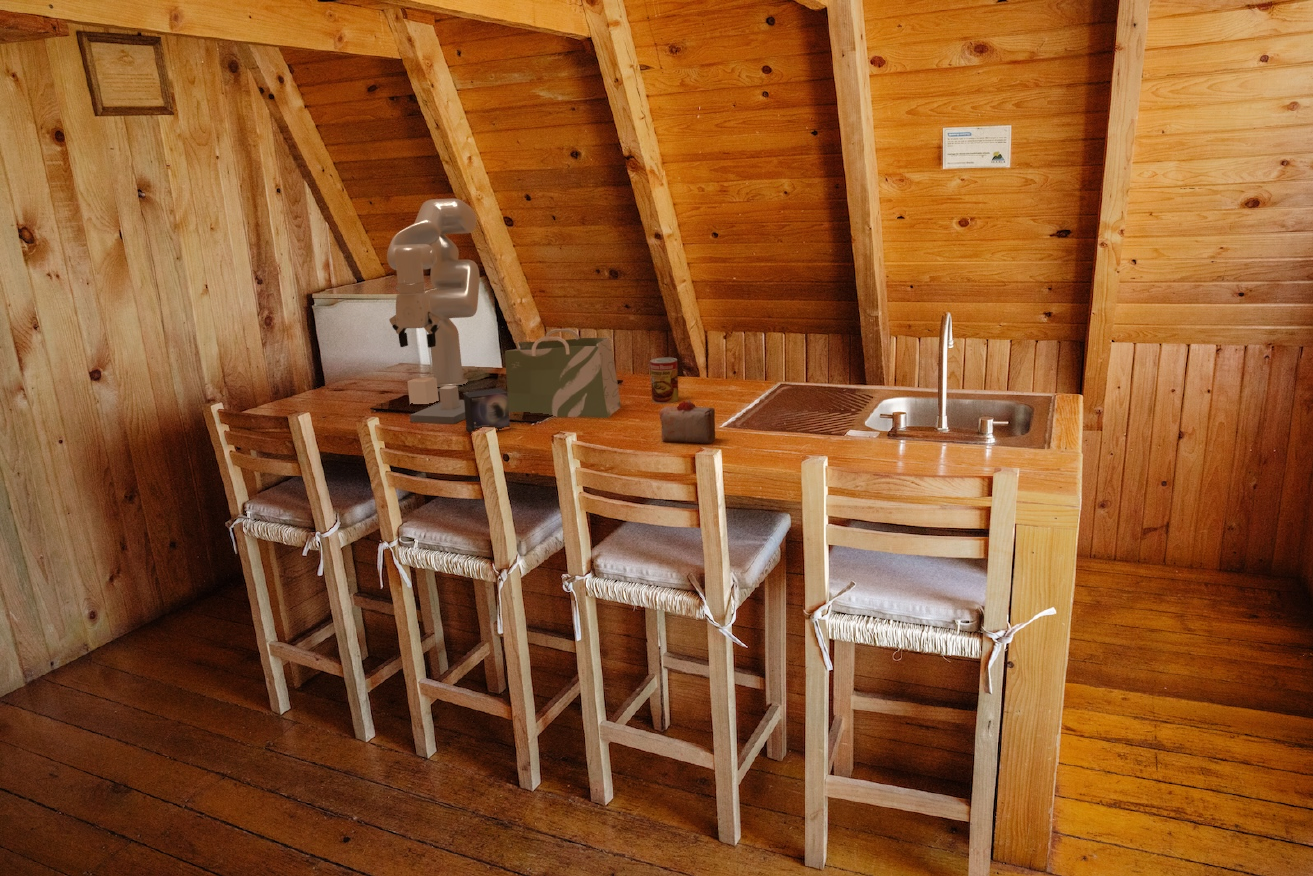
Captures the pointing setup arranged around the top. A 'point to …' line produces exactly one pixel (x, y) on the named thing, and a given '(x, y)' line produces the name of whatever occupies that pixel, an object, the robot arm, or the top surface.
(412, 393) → the tan cardboard cube
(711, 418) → the food item
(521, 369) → the grocery bag
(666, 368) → the canned food
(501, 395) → the small box
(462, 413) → the post base
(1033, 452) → the top surface
